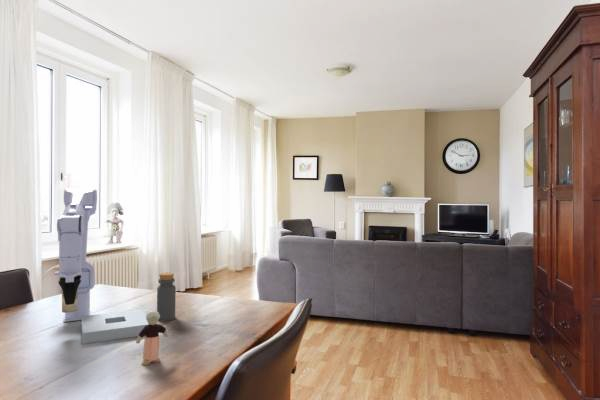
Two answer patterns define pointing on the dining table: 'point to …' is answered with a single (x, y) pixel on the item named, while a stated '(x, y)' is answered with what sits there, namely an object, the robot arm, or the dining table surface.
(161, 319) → the bottle
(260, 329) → the dining table surface
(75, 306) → the peg
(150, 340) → the grandmother figurine
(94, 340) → the socket block
